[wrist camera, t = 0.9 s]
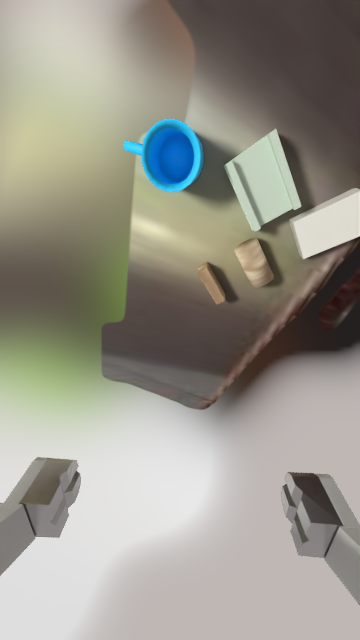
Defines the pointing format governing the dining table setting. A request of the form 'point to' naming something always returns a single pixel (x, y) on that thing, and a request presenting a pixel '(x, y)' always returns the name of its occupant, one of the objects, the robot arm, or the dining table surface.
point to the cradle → (263, 181)
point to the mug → (170, 155)
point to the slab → (328, 224)
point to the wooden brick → (211, 283)
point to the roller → (254, 262)
